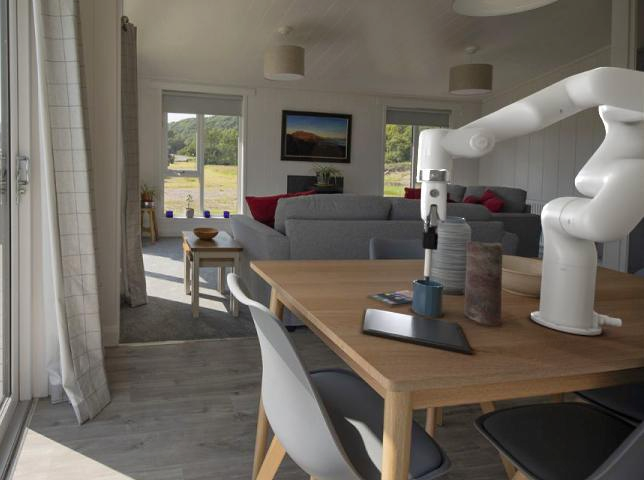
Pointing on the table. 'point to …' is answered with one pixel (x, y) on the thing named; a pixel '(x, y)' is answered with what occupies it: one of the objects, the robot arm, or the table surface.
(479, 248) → the candle
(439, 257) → the vase
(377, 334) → the tablet
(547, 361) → the table surface
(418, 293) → the pen cup
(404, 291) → the smartphone
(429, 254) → the stylus
